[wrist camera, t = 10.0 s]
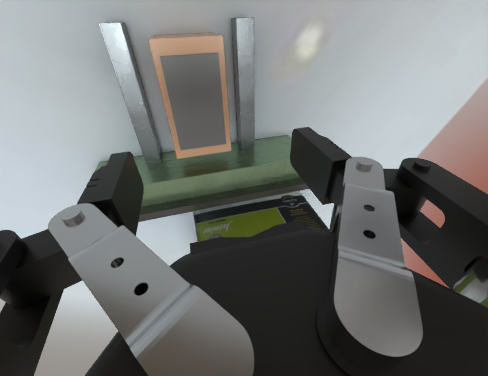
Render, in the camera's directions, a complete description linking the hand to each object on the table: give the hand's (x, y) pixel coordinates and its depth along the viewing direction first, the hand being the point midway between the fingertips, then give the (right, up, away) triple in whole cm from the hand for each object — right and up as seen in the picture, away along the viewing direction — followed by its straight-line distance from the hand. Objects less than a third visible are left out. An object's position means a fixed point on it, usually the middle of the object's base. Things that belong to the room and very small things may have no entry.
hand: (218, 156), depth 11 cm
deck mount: (-4, +7, +12) cm, 15 cm away
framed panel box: (-4, +8, +11) cm, 15 cm away
